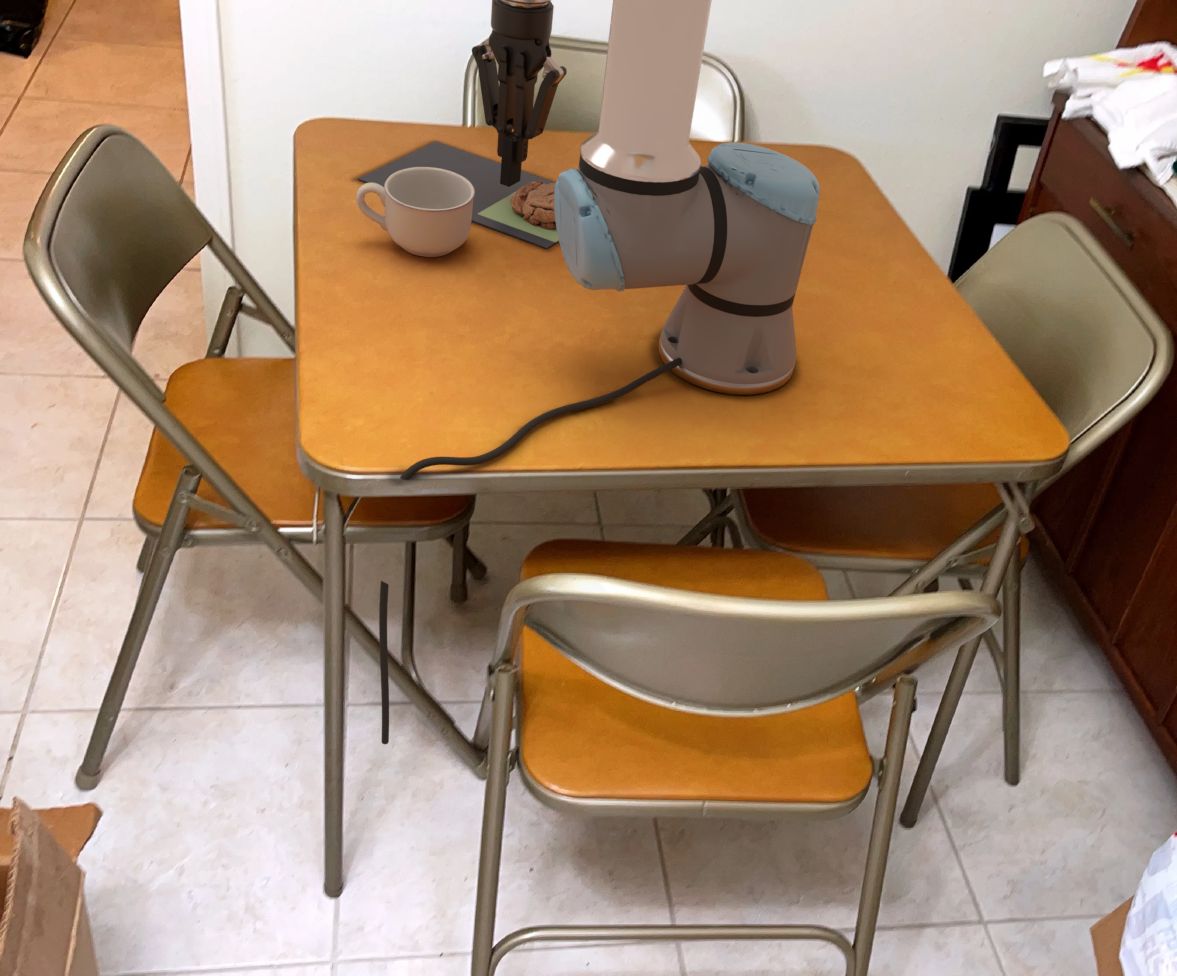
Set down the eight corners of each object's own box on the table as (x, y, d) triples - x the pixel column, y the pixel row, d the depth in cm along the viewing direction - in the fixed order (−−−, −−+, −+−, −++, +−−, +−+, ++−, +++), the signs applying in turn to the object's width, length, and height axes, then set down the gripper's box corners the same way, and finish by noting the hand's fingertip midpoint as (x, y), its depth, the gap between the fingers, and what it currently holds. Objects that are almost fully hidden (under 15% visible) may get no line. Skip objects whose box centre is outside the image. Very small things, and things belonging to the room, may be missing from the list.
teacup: (479, 233, 143) (482, 174, 138) (462, 273, 135) (465, 210, 130) (371, 217, 143) (370, 157, 138) (348, 255, 135) (346, 193, 130)
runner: (546, 249, 142) (547, 247, 142) (357, 179, 152) (357, 178, 152) (614, 204, 155) (614, 202, 155) (436, 142, 164) (436, 141, 164)
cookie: (540, 235, 144) (542, 214, 142) (496, 202, 150) (498, 181, 149) (602, 222, 149) (605, 201, 147) (558, 190, 155) (560, 170, 154)
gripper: (585, 5, 137) (565, 188, 151) (495, -20, 141) (485, 160, 156) (552, 18, 131) (536, 206, 146) (461, -9, 135) (454, 176, 150)
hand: (510, 182), depth 151 cm, fingers closed
